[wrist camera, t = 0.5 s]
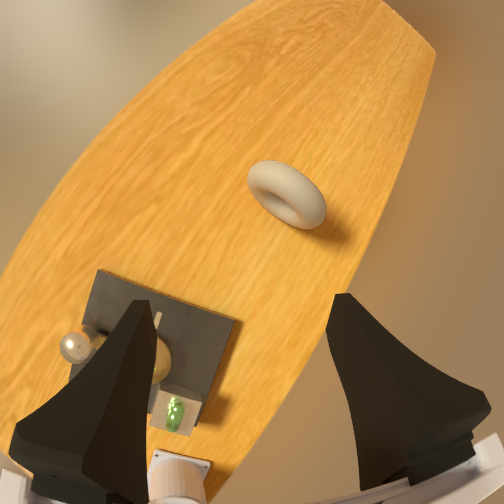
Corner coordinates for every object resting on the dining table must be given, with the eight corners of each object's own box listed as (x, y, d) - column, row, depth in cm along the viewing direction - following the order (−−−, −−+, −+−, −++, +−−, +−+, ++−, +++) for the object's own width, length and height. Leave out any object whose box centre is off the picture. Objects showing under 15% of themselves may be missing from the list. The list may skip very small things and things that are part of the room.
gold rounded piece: (177, 341, 34) (178, 358, 27) (163, 385, 34) (161, 411, 27) (86, 305, 32) (66, 315, 25) (74, 351, 31) (54, 369, 24)
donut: (233, 189, 38) (252, 164, 28) (250, 169, 39) (273, 140, 29) (295, 239, 40) (332, 231, 30) (309, 218, 40) (348, 205, 31)
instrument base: (195, 421, 36) (199, 445, 30) (71, 378, 32) (56, 396, 26) (232, 317, 37) (242, 327, 31) (101, 269, 34) (86, 270, 28)
